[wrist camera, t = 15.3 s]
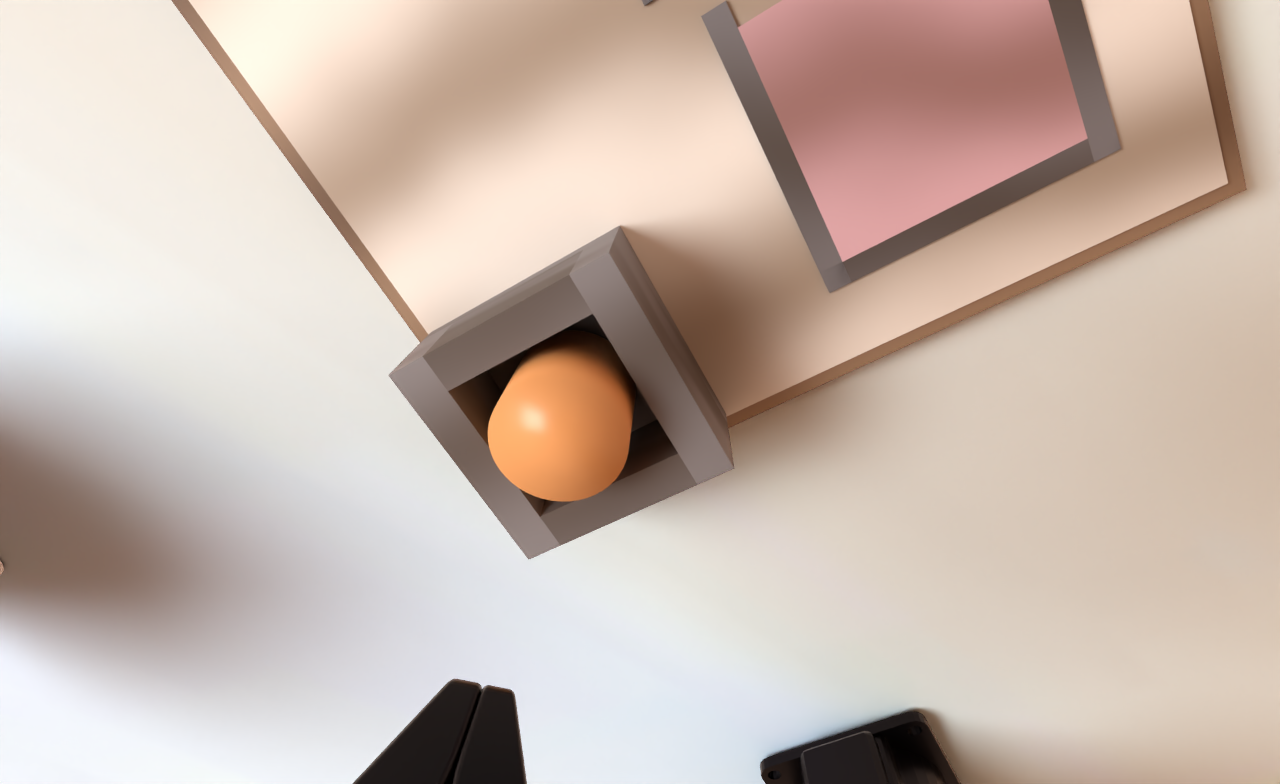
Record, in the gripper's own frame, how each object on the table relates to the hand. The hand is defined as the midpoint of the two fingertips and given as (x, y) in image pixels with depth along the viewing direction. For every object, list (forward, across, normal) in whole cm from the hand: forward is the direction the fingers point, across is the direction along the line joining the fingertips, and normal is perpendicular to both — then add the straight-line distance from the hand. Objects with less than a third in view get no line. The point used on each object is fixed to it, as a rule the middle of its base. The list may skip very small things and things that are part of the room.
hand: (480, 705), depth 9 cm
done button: (+10, 0, 0) cm, 10 cm away
